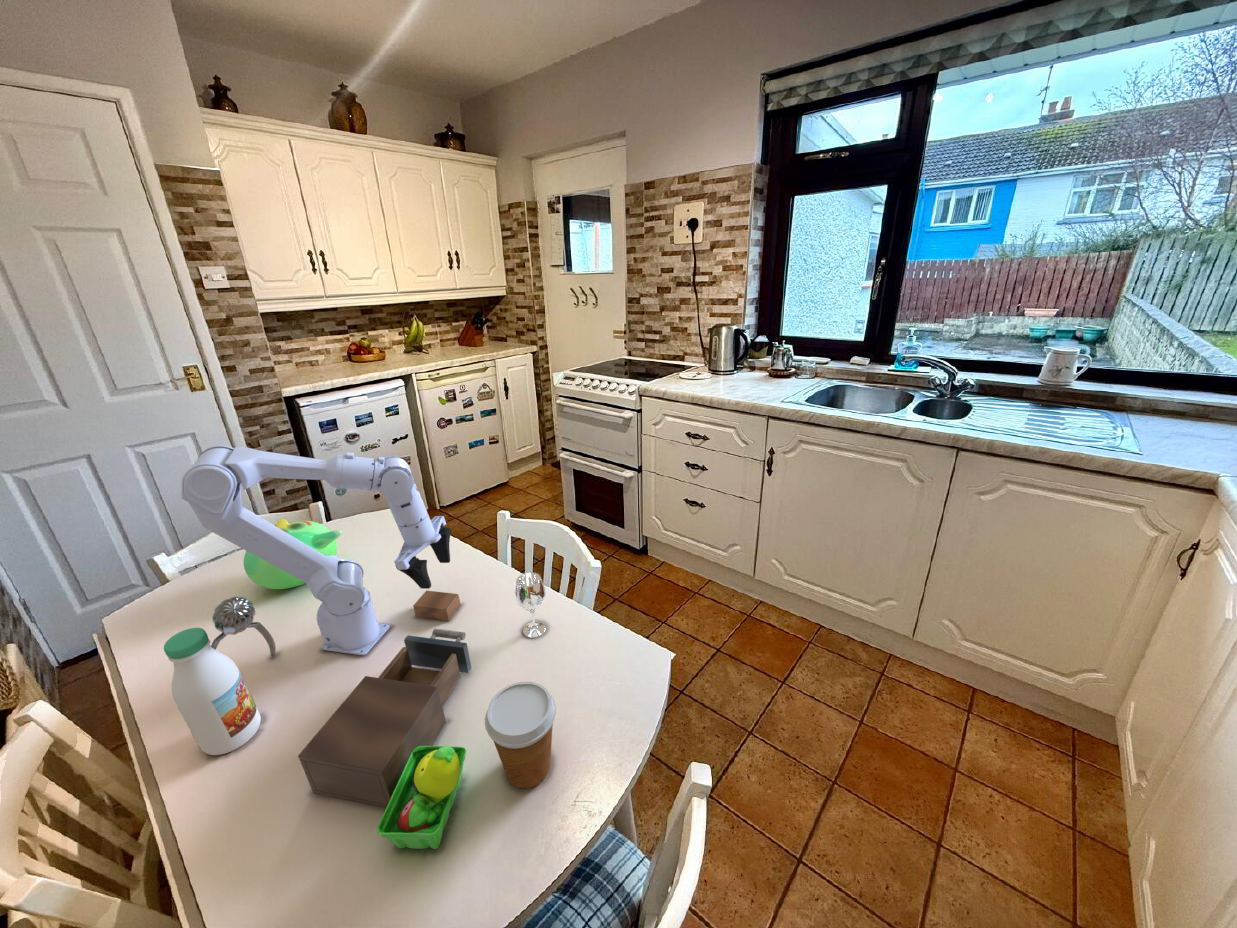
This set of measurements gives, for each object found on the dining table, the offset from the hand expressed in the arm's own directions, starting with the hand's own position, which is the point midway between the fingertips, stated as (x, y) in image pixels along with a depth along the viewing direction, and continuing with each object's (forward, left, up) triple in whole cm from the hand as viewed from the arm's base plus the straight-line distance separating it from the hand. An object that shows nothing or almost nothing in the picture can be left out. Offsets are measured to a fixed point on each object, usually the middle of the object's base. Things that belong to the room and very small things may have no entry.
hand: (436, 574), depth 98 cm
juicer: (-31, -19, -6) cm, 37 cm away
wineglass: (+21, -2, -10) cm, 23 cm away
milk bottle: (-18, -32, -10) cm, 38 cm away
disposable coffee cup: (+30, -29, -10) cm, 43 cm away
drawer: (+8, -18, -9) cm, 21 cm away
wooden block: (-1, 0, -10) cm, 10 cm away
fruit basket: (+20, -37, -10) cm, 43 cm away
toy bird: (-39, +5, -10) cm, 41 cm away
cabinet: (+8, -31, -10) cm, 33 cm away
